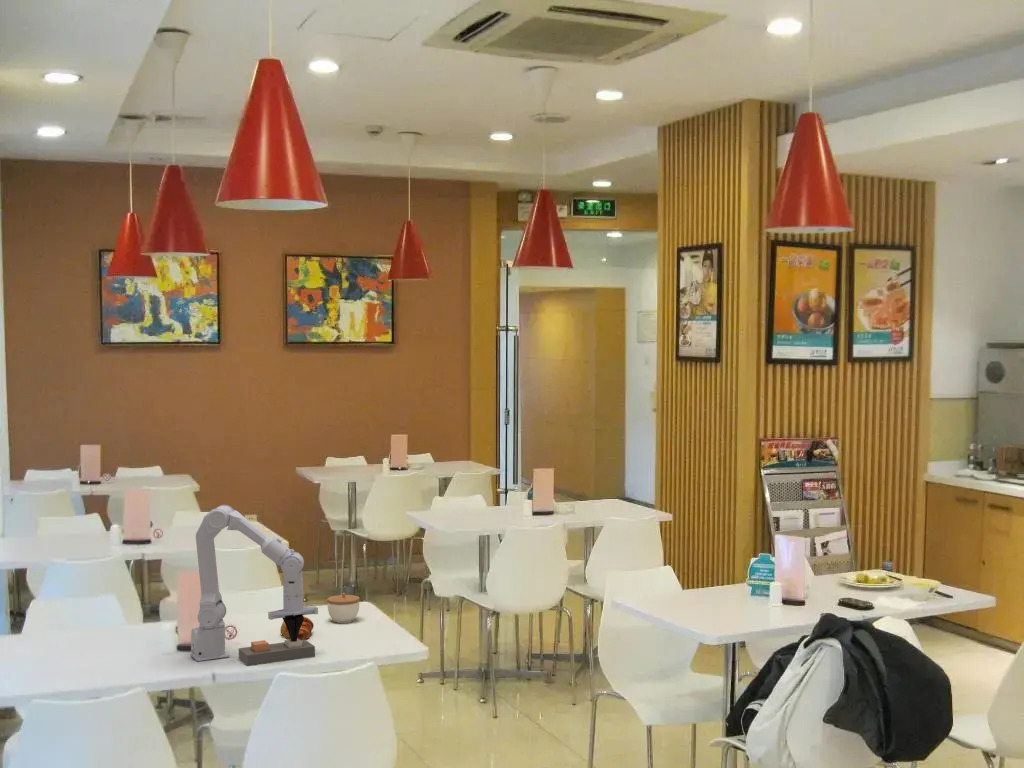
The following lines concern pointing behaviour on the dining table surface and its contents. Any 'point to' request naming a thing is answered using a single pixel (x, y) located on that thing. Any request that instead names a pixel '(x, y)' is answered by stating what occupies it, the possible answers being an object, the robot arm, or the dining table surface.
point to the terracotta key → (259, 646)
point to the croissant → (304, 629)
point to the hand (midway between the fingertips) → (293, 640)
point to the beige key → (293, 643)
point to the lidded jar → (343, 607)
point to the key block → (276, 653)
